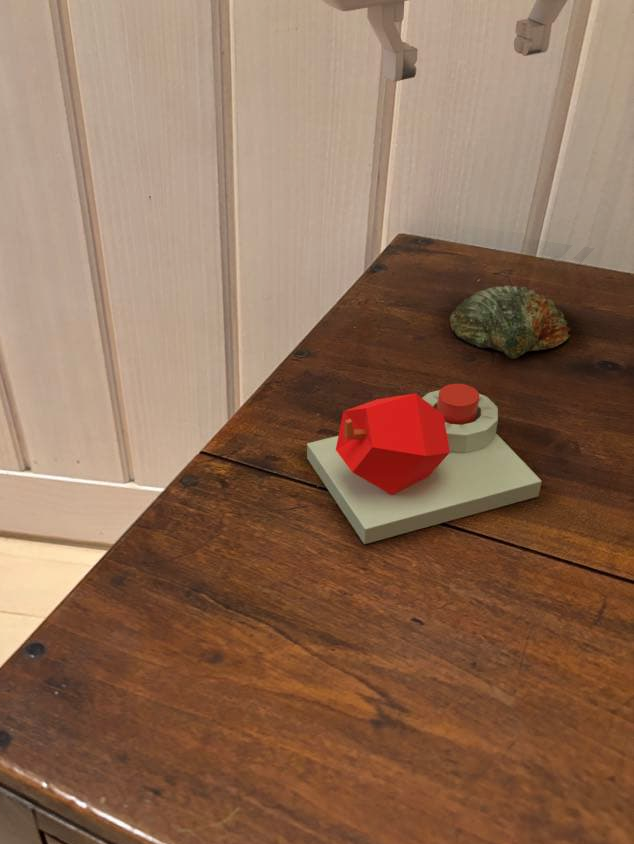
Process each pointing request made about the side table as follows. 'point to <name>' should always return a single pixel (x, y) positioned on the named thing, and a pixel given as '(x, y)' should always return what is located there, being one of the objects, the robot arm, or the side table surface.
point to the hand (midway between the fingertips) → (465, 65)
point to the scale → (432, 481)
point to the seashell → (510, 321)
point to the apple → (393, 441)
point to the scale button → (458, 403)
